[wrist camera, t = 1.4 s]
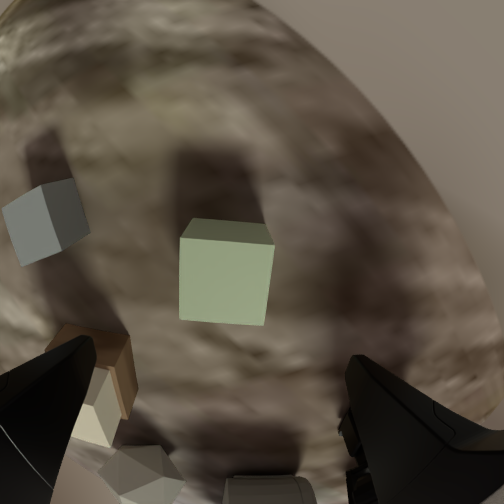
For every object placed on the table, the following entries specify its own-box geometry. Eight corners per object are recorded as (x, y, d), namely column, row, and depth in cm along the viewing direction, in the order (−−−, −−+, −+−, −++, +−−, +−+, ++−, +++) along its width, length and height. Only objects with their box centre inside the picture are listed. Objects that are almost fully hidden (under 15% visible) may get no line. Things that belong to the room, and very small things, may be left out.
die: (111, 416, 24) (73, 481, 18) (174, 456, 21) (132, 531, 14) (150, 436, 30) (118, 492, 23) (208, 467, 26) (173, 529, 20)
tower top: (109, 370, 17) (93, 406, 13) (121, 414, 18) (110, 448, 15) (51, 355, 16) (30, 385, 13) (68, 400, 18) (53, 429, 14)
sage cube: (265, 223, 18) (274, 245, 14) (257, 288, 20) (263, 325, 15) (192, 217, 18) (180, 237, 13) (190, 283, 19) (179, 319, 15)
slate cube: (73, 177, 16) (40, 184, 12) (91, 232, 18) (62, 250, 14) (35, 197, 16) (1, 208, 13) (51, 247, 18) (21, 267, 14)
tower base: (130, 334, 20) (114, 367, 17) (138, 387, 22) (128, 420, 18) (66, 322, 20) (44, 349, 16) (81, 374, 22) (65, 403, 18)
